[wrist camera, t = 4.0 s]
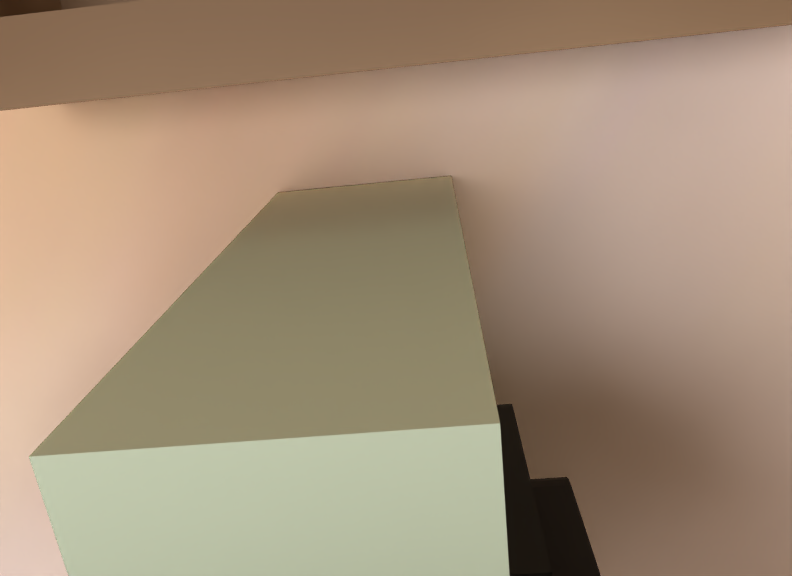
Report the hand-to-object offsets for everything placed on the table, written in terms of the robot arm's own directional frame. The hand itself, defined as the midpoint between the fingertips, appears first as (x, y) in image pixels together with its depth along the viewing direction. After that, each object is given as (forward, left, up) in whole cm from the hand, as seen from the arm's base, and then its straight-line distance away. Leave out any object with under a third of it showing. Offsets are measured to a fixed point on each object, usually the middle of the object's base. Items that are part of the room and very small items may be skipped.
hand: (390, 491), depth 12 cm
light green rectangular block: (0, 0, -2) cm, 2 cm away
